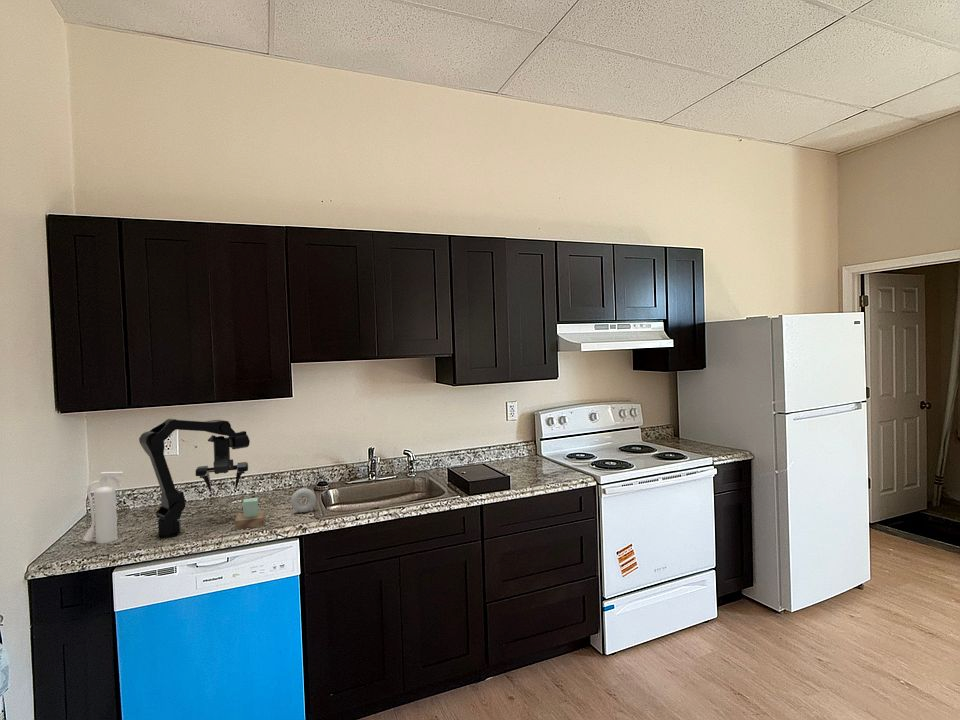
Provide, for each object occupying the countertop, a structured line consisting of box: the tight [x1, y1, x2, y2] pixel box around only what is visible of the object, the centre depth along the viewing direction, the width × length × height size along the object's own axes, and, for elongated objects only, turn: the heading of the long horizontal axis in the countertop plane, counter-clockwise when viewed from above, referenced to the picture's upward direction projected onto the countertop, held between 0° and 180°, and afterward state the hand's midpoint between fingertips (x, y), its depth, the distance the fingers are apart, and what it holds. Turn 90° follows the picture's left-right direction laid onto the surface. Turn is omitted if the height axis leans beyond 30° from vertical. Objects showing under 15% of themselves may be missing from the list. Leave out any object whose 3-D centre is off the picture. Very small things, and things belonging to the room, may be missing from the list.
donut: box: [290, 487, 317, 513], centre depth 223 cm, size 10×4×10 cm, turn 112°
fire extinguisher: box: [82, 471, 124, 544], centre depth 195 cm, size 7×12×25 cm, turn 116°
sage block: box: [242, 497, 259, 518], centre depth 208 cm, size 5×5×6 cm
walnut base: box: [234, 510, 266, 531], centre depth 209 cm, size 10×10×4 cm
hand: (223, 490), depth 215 cm, fingers open, 9 cm apart
